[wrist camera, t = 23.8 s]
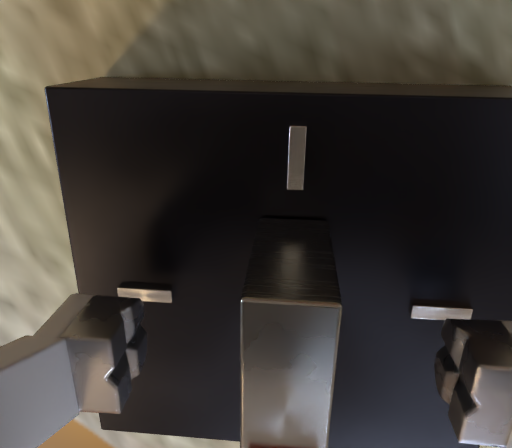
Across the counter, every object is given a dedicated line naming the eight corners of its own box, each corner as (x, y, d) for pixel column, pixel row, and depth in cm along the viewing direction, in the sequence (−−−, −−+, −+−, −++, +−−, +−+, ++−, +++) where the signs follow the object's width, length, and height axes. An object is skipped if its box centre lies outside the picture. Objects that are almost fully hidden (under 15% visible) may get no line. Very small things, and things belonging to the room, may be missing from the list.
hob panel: (512, 85, 11) (587, 100, 8) (442, 386, 15) (477, 468, 12) (101, 76, 12) (38, 87, 9) (135, 363, 16) (98, 434, 13)
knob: (258, 216, 10) (237, 307, 6) (328, 219, 10) (344, 314, 6) (255, 370, 12) (238, 508, 8) (315, 375, 12) (322, 516, 8)
